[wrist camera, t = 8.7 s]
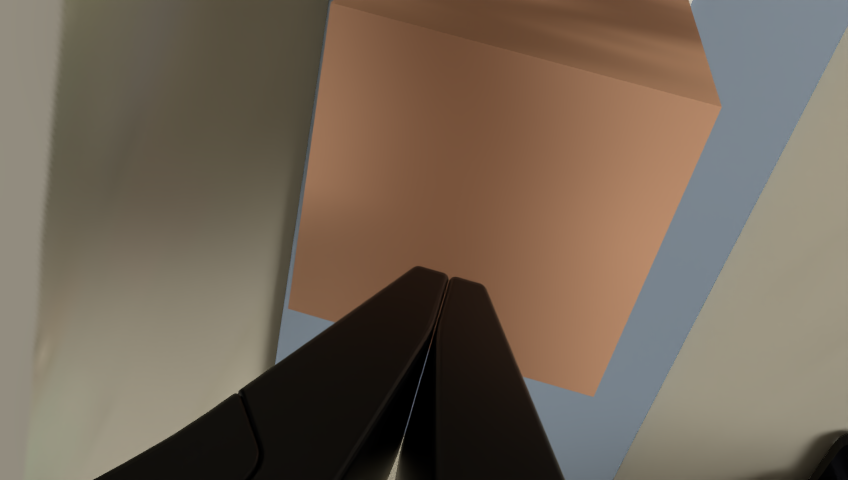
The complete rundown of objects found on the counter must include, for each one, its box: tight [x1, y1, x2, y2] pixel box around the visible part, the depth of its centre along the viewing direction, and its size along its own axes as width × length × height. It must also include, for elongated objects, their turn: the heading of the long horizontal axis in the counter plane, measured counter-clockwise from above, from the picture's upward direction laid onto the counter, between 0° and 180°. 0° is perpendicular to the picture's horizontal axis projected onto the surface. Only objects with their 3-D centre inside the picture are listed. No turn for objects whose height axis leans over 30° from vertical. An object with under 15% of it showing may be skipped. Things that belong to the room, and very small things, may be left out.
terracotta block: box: [288, 0, 722, 397], centre depth 13 cm, size 5×5×5 cm
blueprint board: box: [275, 0, 848, 480], centre depth 23 cm, size 12×19×1 cm, turn 168°
